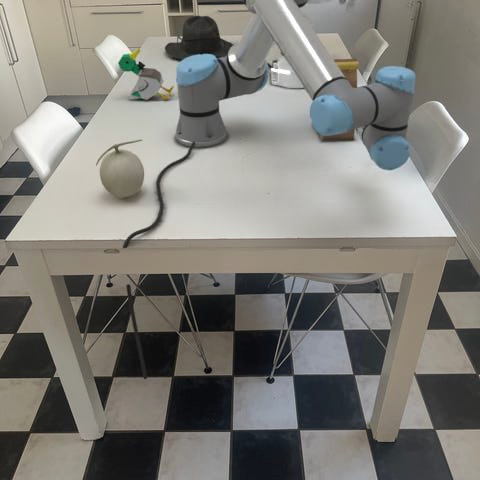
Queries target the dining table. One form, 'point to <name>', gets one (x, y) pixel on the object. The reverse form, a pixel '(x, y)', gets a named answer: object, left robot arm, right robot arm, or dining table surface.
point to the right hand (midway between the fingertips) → (345, 7)
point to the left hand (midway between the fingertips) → (352, 92)
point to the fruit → (121, 171)
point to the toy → (143, 77)
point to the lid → (349, 69)
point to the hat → (199, 39)
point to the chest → (339, 137)
